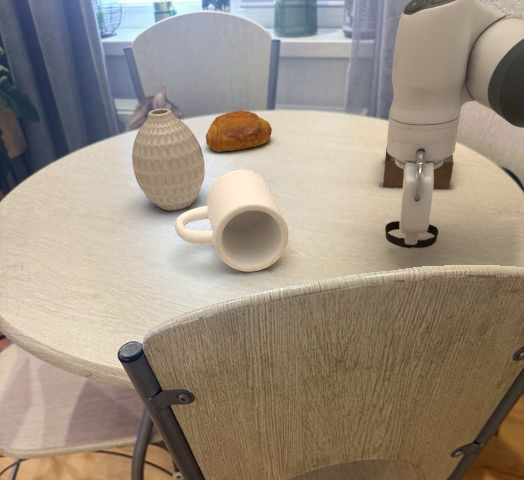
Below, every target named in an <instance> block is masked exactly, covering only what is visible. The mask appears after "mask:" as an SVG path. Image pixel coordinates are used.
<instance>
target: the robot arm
mask: <svg viewBox="0 0 524 480" xmlns="http://www.w3.org/2000/svg"><path fill="white" fill-rule="evenodd" d="M396 29H397V30H396V36H395V41H394V48H393V58H392V69H391V84H392V88H393V97H392V103H391V105H390V108H389V112H388V124H387V125H388V126H387V138H386V139H387V141H386V148H387V152H388V154H389V155H391V156H392V157H394V158H395V163H396V165H397V166H398V167H400V168H402V169H404V179H403V187H402V190H401V203H400V212H399V213H400V214H399V215H400V216H399V221H400V225H399V227H400V230H399V232H400V233H401V234H404V238H405V244H409V245H415V244H417V242H418V240H419V235H423V234H427V233H426V232H427V230H428V227H429V224H430V221H431V220H430V219H431V210H432V204H433V202H432V201H433V194H434V188H433V185H434V169H436V168H438V167H440V166H441V165H442V164H443V160H444V158H447V157H449V156H451V155H452V154H453V155H454V153H455V151H456V145H457V138H458V132H459V125H460V118H461V111H462V107H463V106H464V105H465V104H466V103H469V102H476V103H478V104H480V105H482V106H484V107H485V108H488V109H490V110H491V111H493V112H494V113H495V114H497V115H498V116H499V117H501V118H502V119H503V120H505V121H506V122H507V123H509V124H510V125H512V126H514V127H516V128H521V129H524V18H523V17H520V16H516V15H512V14H508V13H506V12H503V11H501V10H498V9H495V8H493V7H491V6H489V5H488V4H486V3H484V2H482V1H481V0H410V2H408V3H407V4H406V5H405V7H404V8H403V10H402V12H401V15H400V18H399V22H398V25H397V28H396ZM418 234H419V235H418Z"/></svg>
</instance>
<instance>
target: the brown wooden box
mask: <svg viewBox="0 0 524 480" xmlns="http://www.w3.org/2000/svg"><path fill="white" fill-rule="evenodd" d="M384 160H385V161H384V171H383V172H384V173H383V182H382V186H383V188H403V179H404V169H402V168H400V167H398V166H397V165H396V163H395V158H394V157H392V156H391V155H389V154H388V152H387V147H386V149H385V159H384ZM453 168H454V153H453V154H452V155H451V156H449V157H447V158H444V160H443V164H442V165H441V166H440V167H438V168H436V169H434V185H433V189H437V190H438V189H439V190H441V189H442V190H449V189H450V187H451V186H450V185H451V180H452V173H453Z"/></svg>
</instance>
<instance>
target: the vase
mask: <svg viewBox="0 0 524 480" xmlns="http://www.w3.org/2000/svg"><path fill="white" fill-rule="evenodd" d="M131 153H132V154H131V161H132V169H133V174H134V177H135V180H136V182H137V184H138V186H139V189H140V190H141V191H142V192H143V193H144V195H145V197H147V199H148V200H150V202H152V203H153V204H154V205H155V206H157V207H158V208H159V209H161V210H163V211H170V212H171V211H172V212H173V211H175V212H176V211H181V210H183V209H187V208H188V207H190V206H191V205H192V204H193V203H194V202H195V200H196V198H197V197H198V196H199V194H200V191H201V189H202V186H203V184H204V180H205V174H206V173H205V172H206V170H205V168H206V166H205V159H204V153H203V149H202V146H201V144H200V142H199V141H198V139H197V137H196V135H195V133H194V132H193V131H192V130H191V128H190V127H189V126H188V125H187V124H186V123H184V122H183V121H182V120H181V119H180V118H178V117H177V116H175V115H174V114H173V111H172V110H171V109H169V108H156V109H152V110H150V111H149V112H147V118H146V120H145V121H144V122H143V124H142V125H141V126H140V128H139V130H138V131H137V133H136V136H135V139H134V141H133V147H132V152H131Z"/></svg>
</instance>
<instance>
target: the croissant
mask: <svg viewBox="0 0 524 480" xmlns="http://www.w3.org/2000/svg"><path fill="white" fill-rule="evenodd" d="M272 131H273V128H272V125H271V124H270V122H269V121H268V120H265V119H264V118H263V117H260V116H259V115H258V114H257V113H256V112H251V111H249V110H241V109H240V110H233V111H230V112H226V113H223V114H221V115H218V116H216V117H215V118H214V120H213V121H212V122H211V124H210V126H209V127H208V130H207V132H206V134H205V142H206V145H207V146H208V147H209V148H210V149H211V150H212V151H214V152H217V153H219V152H221V153H222V152H231V151H238V150H245V149H249V148H255V147H258V146H261V145H264V144H266V143H267V142H268V141H270V139H271V135H272Z"/></svg>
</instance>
